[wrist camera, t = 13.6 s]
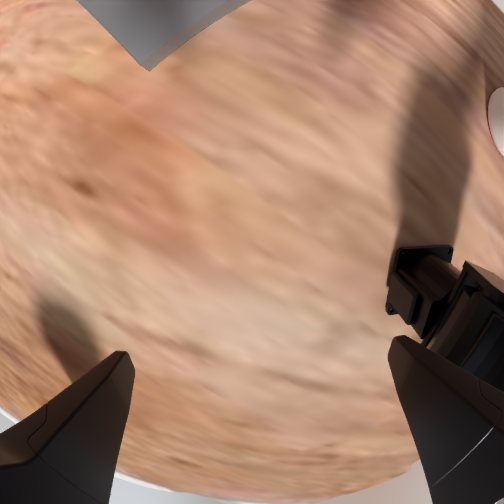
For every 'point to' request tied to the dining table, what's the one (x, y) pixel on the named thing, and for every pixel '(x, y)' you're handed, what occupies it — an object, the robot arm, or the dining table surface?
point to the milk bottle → (497, 118)
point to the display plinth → (156, 23)
